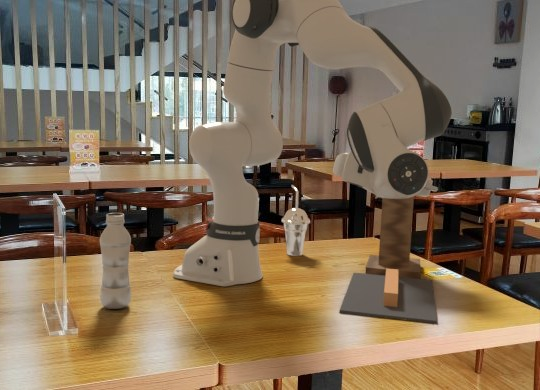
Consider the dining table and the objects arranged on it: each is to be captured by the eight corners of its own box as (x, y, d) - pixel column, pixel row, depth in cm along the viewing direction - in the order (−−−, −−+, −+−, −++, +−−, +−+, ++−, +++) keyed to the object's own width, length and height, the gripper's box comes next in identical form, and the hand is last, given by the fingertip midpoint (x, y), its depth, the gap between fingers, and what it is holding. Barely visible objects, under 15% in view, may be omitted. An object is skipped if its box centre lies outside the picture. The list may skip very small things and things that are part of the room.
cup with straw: (277, 256, 171) (279, 188, 168) (283, 249, 179) (285, 184, 176) (306, 258, 169) (309, 189, 166) (311, 251, 178) (314, 185, 175)
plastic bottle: (100, 313, 121) (98, 217, 117) (100, 302, 127) (99, 211, 124) (132, 311, 122) (131, 217, 119) (130, 301, 129) (130, 211, 126)
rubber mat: (339, 312, 126) (339, 310, 125) (353, 274, 154) (353, 272, 154) (436, 323, 121) (436, 320, 121) (432, 282, 150) (432, 280, 150)
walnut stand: (365, 274, 155) (371, 176, 151) (369, 261, 168) (374, 171, 164) (420, 280, 151) (427, 180, 147) (419, 266, 165) (426, 174, 161)
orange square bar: (383, 305, 129) (384, 292, 129) (385, 279, 149) (386, 268, 148) (397, 306, 129) (398, 293, 128) (397, 281, 148) (398, 269, 147)
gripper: (444, 174, 114) (425, 175, 128) (343, 146, 114) (334, 151, 128) (436, 205, 114) (418, 203, 128) (334, 178, 114) (327, 179, 128)
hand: (375, 177), depth 128 cm, fingers open, 8 cm apart
